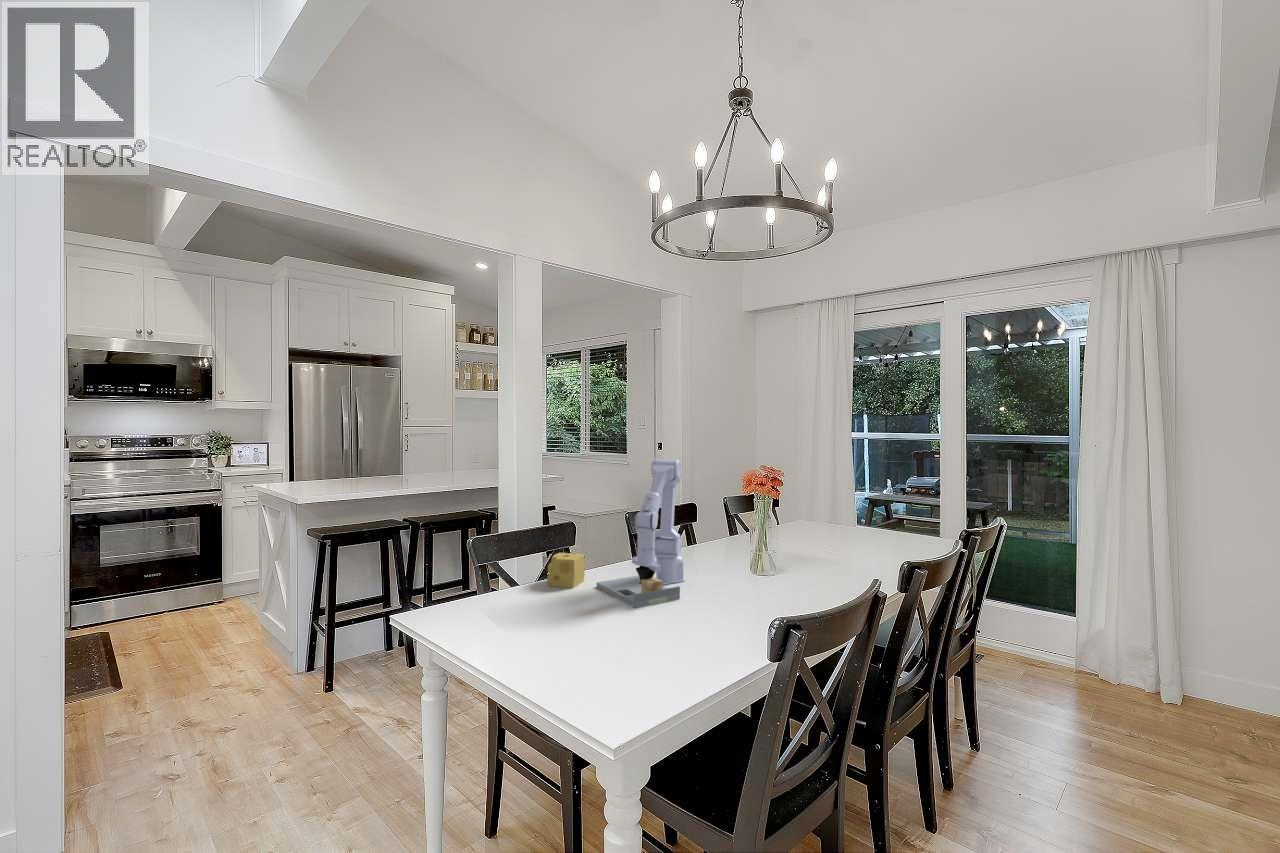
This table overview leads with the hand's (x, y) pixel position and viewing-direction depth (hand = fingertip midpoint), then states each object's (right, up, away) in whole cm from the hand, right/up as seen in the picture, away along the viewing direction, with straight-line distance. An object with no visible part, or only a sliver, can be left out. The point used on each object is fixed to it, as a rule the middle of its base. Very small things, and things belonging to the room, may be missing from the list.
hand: (645, 589), depth 194 cm
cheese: (-28, -3, +16) cm, 32 cm away
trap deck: (-3, -3, +5) cm, 6 cm away
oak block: (+2, -1, -4) cm, 4 cm away
